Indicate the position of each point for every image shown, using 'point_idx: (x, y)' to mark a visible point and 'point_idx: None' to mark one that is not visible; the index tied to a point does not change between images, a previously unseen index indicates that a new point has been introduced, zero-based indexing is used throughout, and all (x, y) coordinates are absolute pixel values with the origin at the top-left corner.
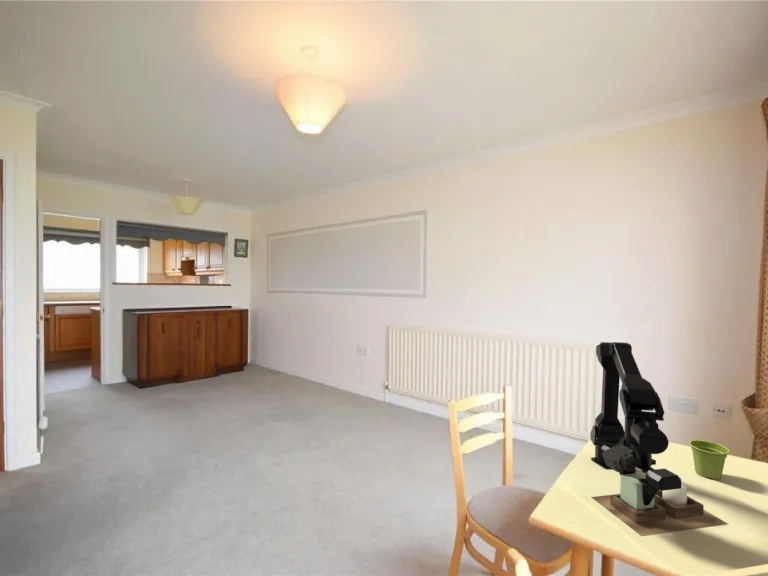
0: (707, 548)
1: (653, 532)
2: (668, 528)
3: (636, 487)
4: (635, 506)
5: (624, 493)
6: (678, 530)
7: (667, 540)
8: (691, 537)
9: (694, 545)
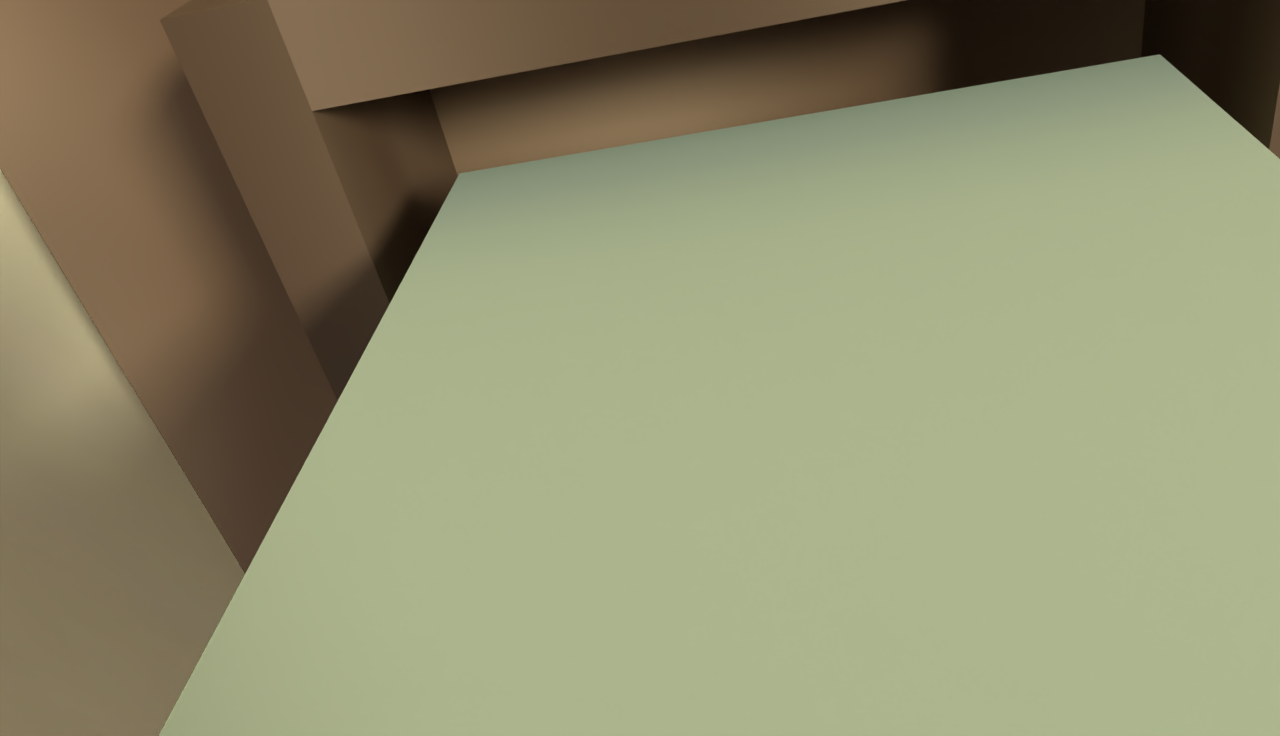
0: (55, 639)
1: (31, 136)
2: (276, 475)
3: None
4: (488, 204)
5: (1037, 216)
6: (246, 571)
7: (58, 283)
8: None
9: (66, 551)
